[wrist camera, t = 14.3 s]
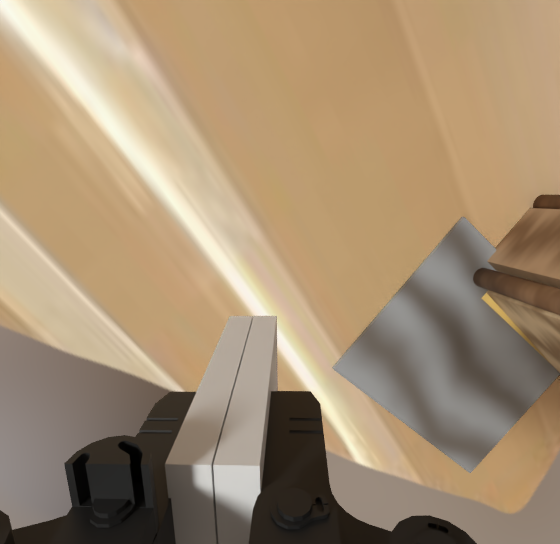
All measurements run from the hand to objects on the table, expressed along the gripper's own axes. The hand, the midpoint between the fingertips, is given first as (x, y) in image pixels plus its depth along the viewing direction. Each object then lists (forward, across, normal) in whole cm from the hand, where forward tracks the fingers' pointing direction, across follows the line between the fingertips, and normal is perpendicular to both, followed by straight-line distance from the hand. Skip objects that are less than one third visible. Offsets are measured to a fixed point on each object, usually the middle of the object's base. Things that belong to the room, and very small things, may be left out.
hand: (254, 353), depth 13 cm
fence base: (+27, +22, -11) cm, 37 cm away
